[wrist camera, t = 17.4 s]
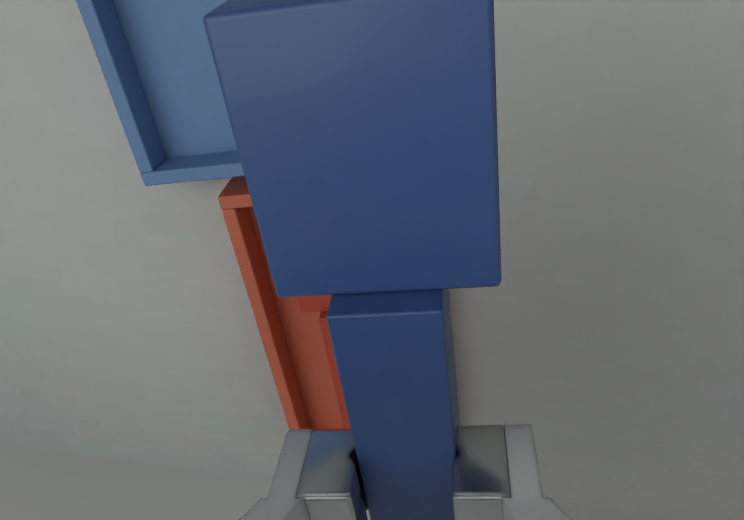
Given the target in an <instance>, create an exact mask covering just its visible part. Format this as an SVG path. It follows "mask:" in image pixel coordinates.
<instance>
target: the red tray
mask: <svg viewBox="0 0 744 520" xmlns="http://www.w3.org/2000/svg"><path fill="white" fill-rule="evenodd" d="M218 199H219V202H220V206H221V209H223V210H222V211H223V215H224V218H225V221H226V224H227V228H228V231H229V234H230V237H231V241H232V244H233V247H234V250H235V254H236V257H237V260H238V263H239V267H240V270H241V273H242V276H243V280H244V283H245V286H246V289H247V293H248V296H249V299H250V302H251V306H252V309H253V312H254V315H255V319H256V322H257V325H258V328H259V332H260V335H261V338H262V341H263V345H264V348H265V351H266V354H267V358H268V361H269V364H270V367H271V371H272V374H273V377H274V380H275V384H276V387H277V390H278V393H279V397H280V400H281V403H282V406H283V410H284V413H285V416H286V419H287V423H288V426H289V429H344V427H343V423H342V418H341V414H340V409H339V405H338V401H337V396H336V392H335V388H334V383H333V379H332V375H331V370H330V366H329V362H328V357H327V353H326V349H325V344H324V340H323V336H322V331H321V327H320V323H319V317H320V313H321V312H306V313H301V311H300V307H299V303H298V299H297V297H283V298H281V297H278V296H277V294H276V291H275V287H274V283H273V280H272V276H271V272H270V268H269V265H268V261H267V257H266V254H265V250H264V246H263V242H262V239H261V235H260V231H259V227H258V224H257V220H256V216H255V213H254V209H253V205H252V201H251V198H250V194H249V190H248V187H247V183H246V179H245V177H237V178H232V179H231V180H230V181H229V183H228V184H227V185H226V187H225V188H224V190H223V191H222V192H221V194H220V195H219V197H218Z"/></svg>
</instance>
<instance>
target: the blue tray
mask: <svg viewBox="0 0 744 520" xmlns="http://www.w3.org/2000/svg"><path fill="white" fill-rule="evenodd" d="M76 1H77V4H78V7H79V9H80V12H81V15H82V17H83V20H84V23H85V26H86V28H87V31H88V34H89V36H90V39H91V42H92V44H93V47H94V50H95V52H96V55H97V58H98V61H99V63H100V66H101V69H102V71H103V74H104V77H105V79H106V82H107V85H108V87H109V90H110V93H111V95H112V98H113V101H114V104H115V106H116V109H117V112H118V114H119V117H120V120H121V122H122V125H123V128H124V130H125V133H126V136H127V139H128V141H129V144H130V147H131V149H132V152H133V155H134V157H135V160H136V163H137V165H138V168H139V171H140V172H141V176H142V179H143V182H144V184H145V186H149V185H159V184H168V183H178V182H188V181H198V180H208V179H218V178H228V177H238V176H245V175H244V172H243V168H242V164H241V161H240V157H239V153H238V149H237V146H236V142H235V138H234V135H233V131H232V127H231V123H230V120H229V116H228V112H227V108H226V105H225V101H224V97H223V94H222V90H221V86H220V82H219V79H218V75H217V71H216V68H215V64H214V60H213V56H212V53H211V49H210V45H209V42H208V38H207V34H206V30H205V27H204V23H203V17H204V15H206V14H207V13H209V12H210V11H212V10H214V9H215V8H217V7H218V6H220V5H221V4H223V3H225V2H226V1H228V0H76Z"/></svg>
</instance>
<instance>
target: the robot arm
mask: <svg viewBox="0 0 744 520" xmlns="http://www.w3.org/2000/svg"><path fill="white" fill-rule="evenodd" d="M456 454H457V459H456V460H455V461H454V462H453V464H452V488H453V505H454V515H455V520H571V519H570V518H569V517H568V516H567V515H566V514H565V512H564V511H563V510H562V509H561V508H560V507H559V506H558V505H557V504H556V503H555V501H554V500H553V499H552V498H543V493H542V487H541V480H540V474H539V468H538V461H537V455H536V448H535V442H534V436H533V429H532V427H531V425H530V424H526V425H504V427H503V425H481V426H456ZM367 509H368V505H367V500H366V496H365V491H364V487H363V482H362V478H361V473H360V469H359V464H358V460H357V455H356V451H355V446H354V441H353V437H352V432H351V429H290V430H289V431H288V433H287V434H286V436H285V439H284V442H283V446H282V449H281V453H280V457H279V460H278V464H277V467H276V471H275V474H274V478H273V481H272V485H271V488H270V492H269V496H268V498H261V499H260V500H259V501H258V502H257V503H256V504H255V505H253V506H252V507H251V509H250V510H248V511H247V513H245V514H244V515H243V516H242V517H241V518H240V519H239V520H367V515H366V510H367Z"/></svg>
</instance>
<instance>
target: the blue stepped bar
mask: <svg viewBox="0 0 744 520" xmlns="http://www.w3.org/2000/svg"><path fill="white" fill-rule="evenodd" d="M203 23H204V27H205V30H206V34H207V38H208V42H209V45H210V49H211V53H212V56H213V60H214V64H215V68H216V71H217V75H218V79H219V82H220V86H221V90H222V94H223V97H224V101H225V105H226V108H227V112H228V116H229V120H230V123H231V127H232V131H233V135H234V138H235V142H236V146H237V149H238V153H239V157H240V161H241V164H242V168H243V172H244V175H245V179H246V183H247V187H248V190H249V194H250V198H251V201H252V205H253V209H254V213H255V216H256V220H257V224H258V227H259V231H260V235H261V239H262V242H263V246H264V250H265V254H266V257H267V261H268V265H269V268H270V272H271V276H272V280H273V283H274V287H275V291H276V294H277V296H278V297H281V298H283V297H302V296H321V295H332V296H331V300H330V304H329V308H328V311H327V315H326V320H327V324H328V329H329V333H330V338H331V342H332V347H333V351H334V356H335V360H336V365H337V369H338V374H339V378H340V383H341V387H342V392H343V396H344V401H345V405H346V410H347V414H348V419H349V423H350V428H351V432H352V437H353V441H354V446H355V451H356V455H357V460H358V464H359V469H360V473H361V478H362V482H363V487H364V491H365V496H366V500H367V505H368V509H369V513H370V518H371V520H455V515H454V505H453V488H452V464H453V462H454V461H455V460H456V459H457V454H456V426H460V422H459V410H458V398H457V386H456V374H455V363H454V351H453V339H452V327H451V315H450V304H449V292H448V289H454V288H473V287H492V286H498V285H499V284H500V282H501V250H500V214H499V179H498V143H497V108H496V72H495V36H494V1H493V0H228V1H226V2H225V3H223V4H221V5H220V6H218V7H217V8H215V9H214V10H212V11H210V12H209V13H207V14H206V15H204V17H203Z"/></svg>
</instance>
